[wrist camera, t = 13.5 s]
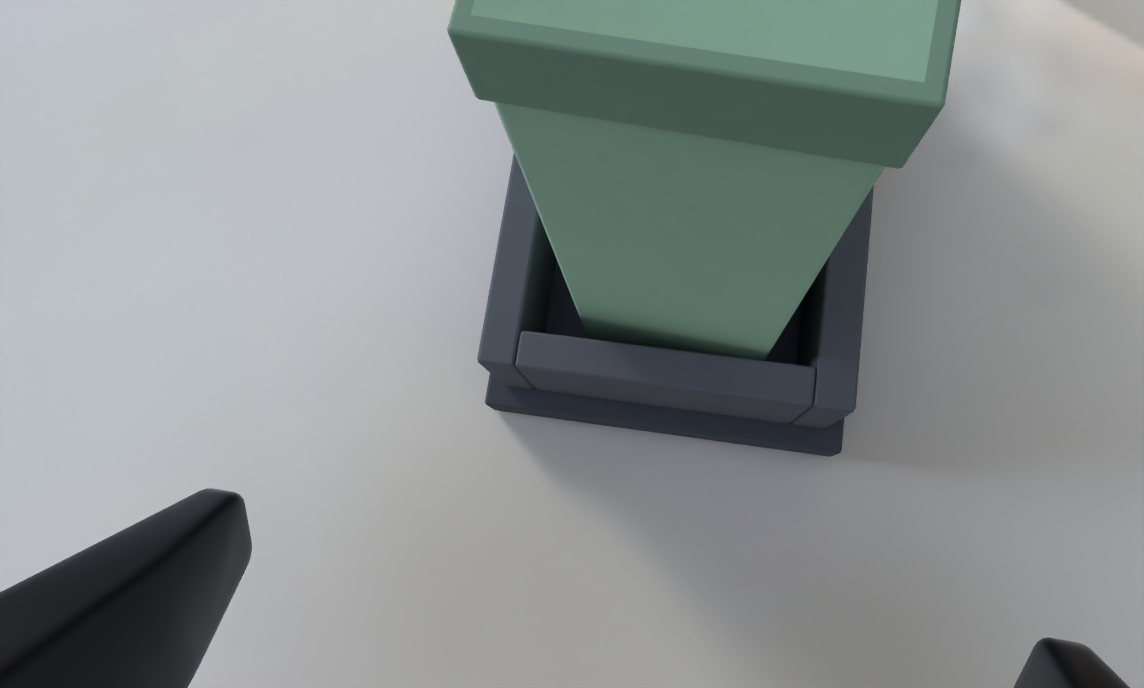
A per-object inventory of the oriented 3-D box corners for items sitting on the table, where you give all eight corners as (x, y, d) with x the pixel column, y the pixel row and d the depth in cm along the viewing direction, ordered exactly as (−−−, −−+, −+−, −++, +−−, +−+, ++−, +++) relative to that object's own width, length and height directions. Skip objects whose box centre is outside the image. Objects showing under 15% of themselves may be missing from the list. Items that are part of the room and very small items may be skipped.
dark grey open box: (832, 456, 20) (875, 440, 16) (492, 409, 21) (452, 383, 17) (870, 24, 22) (915, -84, 18) (562, 3, 23) (541, -103, 19)
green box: (758, 383, 19) (944, 107, 6) (583, 346, 20) (444, 31, 7) (811, 106, 20) (1054, -573, 8) (647, 80, 21) (624, -585, 8)
